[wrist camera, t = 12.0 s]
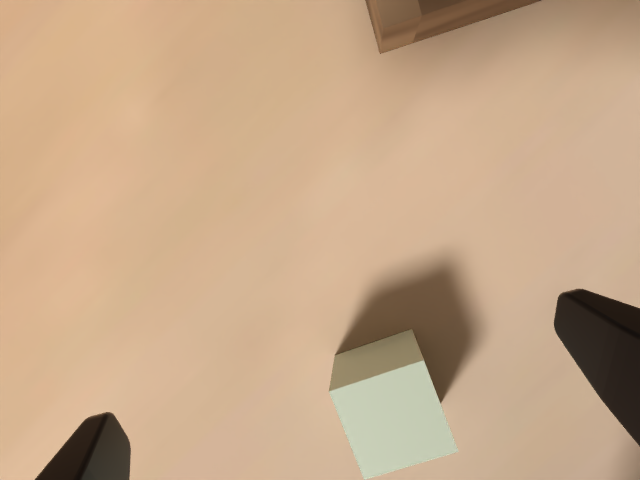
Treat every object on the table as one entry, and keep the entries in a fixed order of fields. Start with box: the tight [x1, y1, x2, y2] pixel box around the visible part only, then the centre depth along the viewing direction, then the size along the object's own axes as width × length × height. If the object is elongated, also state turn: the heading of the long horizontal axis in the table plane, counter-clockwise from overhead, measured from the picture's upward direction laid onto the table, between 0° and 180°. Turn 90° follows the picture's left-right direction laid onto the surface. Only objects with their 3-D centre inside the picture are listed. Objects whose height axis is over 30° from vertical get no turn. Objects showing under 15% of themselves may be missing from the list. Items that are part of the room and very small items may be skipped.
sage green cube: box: [329, 329, 459, 480], centre depth 19 cm, size 4×4×4 cm
